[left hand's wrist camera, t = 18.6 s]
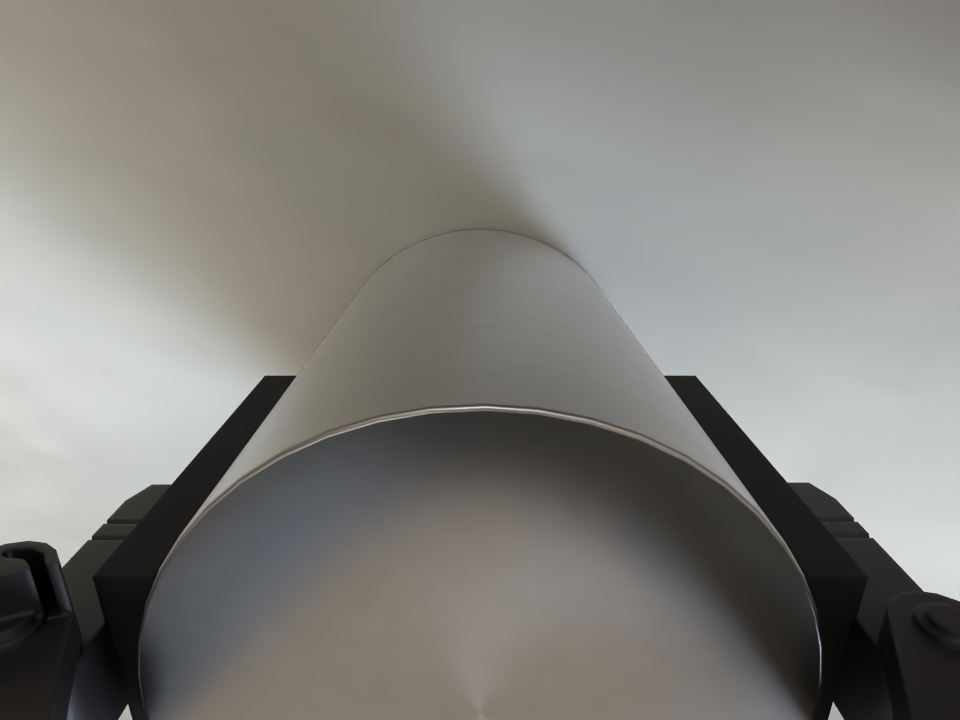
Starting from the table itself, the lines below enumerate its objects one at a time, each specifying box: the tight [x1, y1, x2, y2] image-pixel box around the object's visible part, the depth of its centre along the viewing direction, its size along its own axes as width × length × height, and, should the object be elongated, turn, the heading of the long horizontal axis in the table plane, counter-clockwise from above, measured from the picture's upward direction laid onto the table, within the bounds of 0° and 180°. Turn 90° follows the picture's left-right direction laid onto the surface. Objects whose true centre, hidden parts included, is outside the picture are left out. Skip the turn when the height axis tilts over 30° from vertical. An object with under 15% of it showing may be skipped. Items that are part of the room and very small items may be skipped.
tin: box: [138, 229, 823, 720], centre depth 12 cm, size 8×8×11 cm
